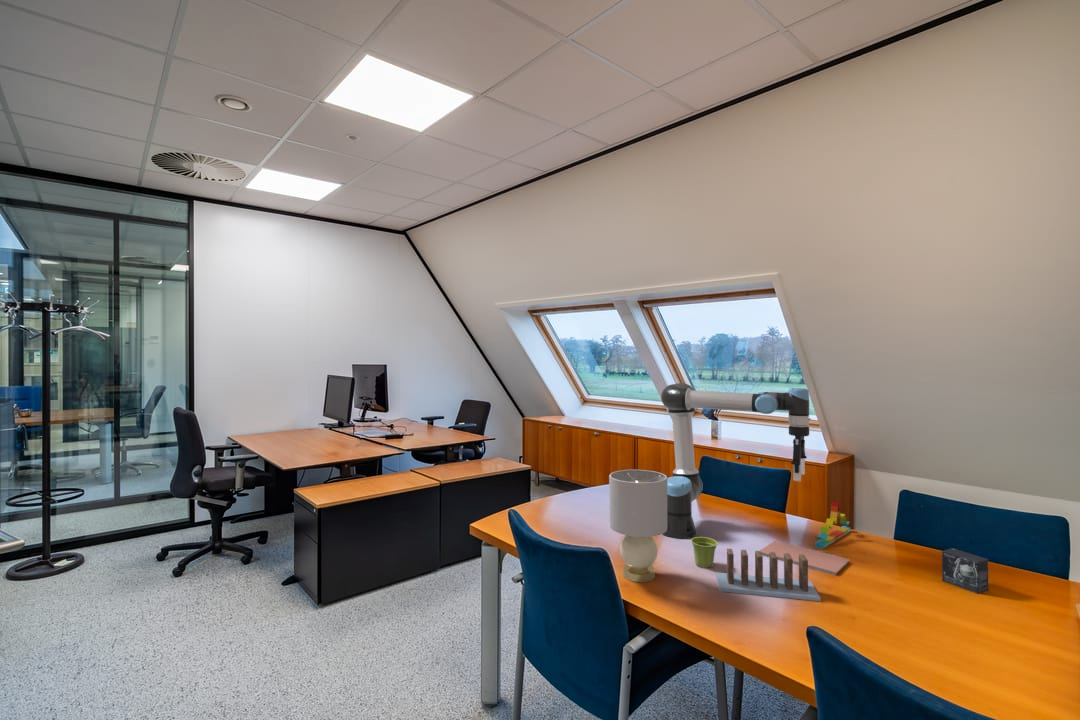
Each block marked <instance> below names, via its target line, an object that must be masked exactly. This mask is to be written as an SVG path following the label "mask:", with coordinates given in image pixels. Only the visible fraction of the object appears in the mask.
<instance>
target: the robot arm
mask: <svg viewBox="0 0 1080 720" xmlns="http://www.w3.org/2000/svg"><path fill="white" fill-rule="evenodd" d="M660 399H661V402H662V404H663V406H664V407H665V408H666V409H667V411H668V412H667V413H668V415H670V416H671V418H672V419H671V420H672V431H673V433H672V434H673V446H674V447H673V448H674V460H675V469H673V470H672V476H670V477H667V531H666V532H665V533H663V534H662V535H664V536H665V537H670V538H673V539H689V538H694V537H695V536H696V535H697V528H696V525H695V522H694V519H693V516H692V515H693V514H692V513H693V511H692V506H693V505H692V503H693V502H694V501H695V500H696V499H698V498H699V497H700V495H701V494H702V492H703V481H702V479H701V478H700V471H699V470H698V469H697V468H696V464H695V462H696V461H695V450H694V449H695V448H694V446H695V445H694V435H693V434H694V433H693V421H692V419H693V418H692V415H693V414H695V409H700V410H701V409H702V410H704V409H705V410H716V411H717V410H719V411H733V412H734V411H735V412H749V413H760V414H763V415H764V414H765V415H769V414H773V413H774V412H776V411H785V412H786V411H788V425H789V426H788V435H789V436H794V439H793V441H792V444H793V447H792V448H793V451H792V461H791V462H790V464H791V465H792V467H793V468H792V469H793V470H792V472H793V473H792V475H793V476H792V478H793V479H792V480H793V482H794V481H795V482H801V481H802V475H805V474H806V472H805V471H806V470H805V469H806V466H805V465H806V464H805V463H806V462H805V461H806V460H805V459H807V458H808V457H807V455H806V447H805V444H806V443H805V442H806V440H805V437H809V436H810V427H809V425H810V421H812V419H811V417H810V391H809V389H807V388H805V387H789V388H788V391H787V392H778V391H777V392H776V391H773V392H772V391H760V392H758V393H752V392H751V393H748V392H746V393H745V392H733V391H732V392H731V391H709V390H695V389H694V388H693V387H692V386H691V385H690V384H688V383H685V382H678V383H672V384H669V385H667V386H666V387H664V388H663V389H662V392H661V394H660Z"/></svg>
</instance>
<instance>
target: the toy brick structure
mask: <svg viewBox="0 0 1080 720" xmlns="http://www.w3.org/2000/svg"><path fill="white" fill-rule="evenodd" d="M838 517H839V522H840V524H841V525H842V526H841V527H839V528H838V529H836V530H834V531H832V532H831V533H829V530H831V529H832V528H833V526H834V525H837V521H838ZM849 524H850V521H847V516H846V514H845V513H841V510H840V504H839V503H838V502H834V501H831V506H830V515H829V518H826V521H825V523H824V524H823V523H822V525H821V529H820V534H819V535H814V537H815V538H816V539H818V540H817V541H816V542H814V548H817V549H820V550H821V549H822V550H823V549H825V548H826V547H828V546H830V545H831V544H833V543H835V542H836V541H838V540H839V539H842V537H844V536H846V535H847V534H849V533H851V531H850V530H851V527H849ZM842 528H844V529H842ZM845 529H848V530H849V531H848V530H845Z"/></svg>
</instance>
